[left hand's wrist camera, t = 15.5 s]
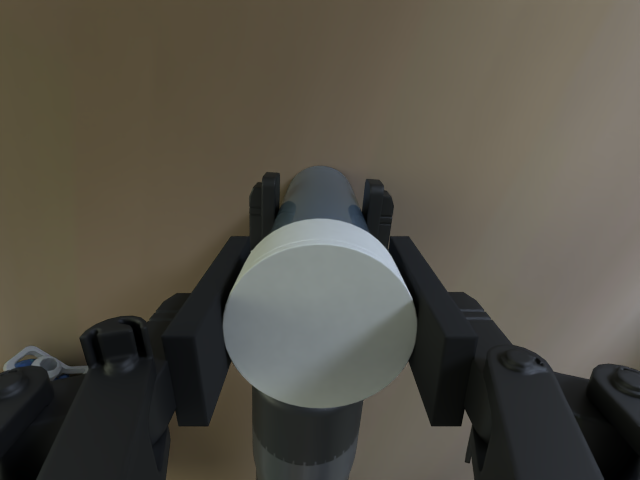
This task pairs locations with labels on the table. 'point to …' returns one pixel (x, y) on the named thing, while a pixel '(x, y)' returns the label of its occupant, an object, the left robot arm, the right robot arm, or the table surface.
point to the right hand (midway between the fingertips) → (322, 179)
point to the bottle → (319, 199)
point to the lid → (319, 315)
